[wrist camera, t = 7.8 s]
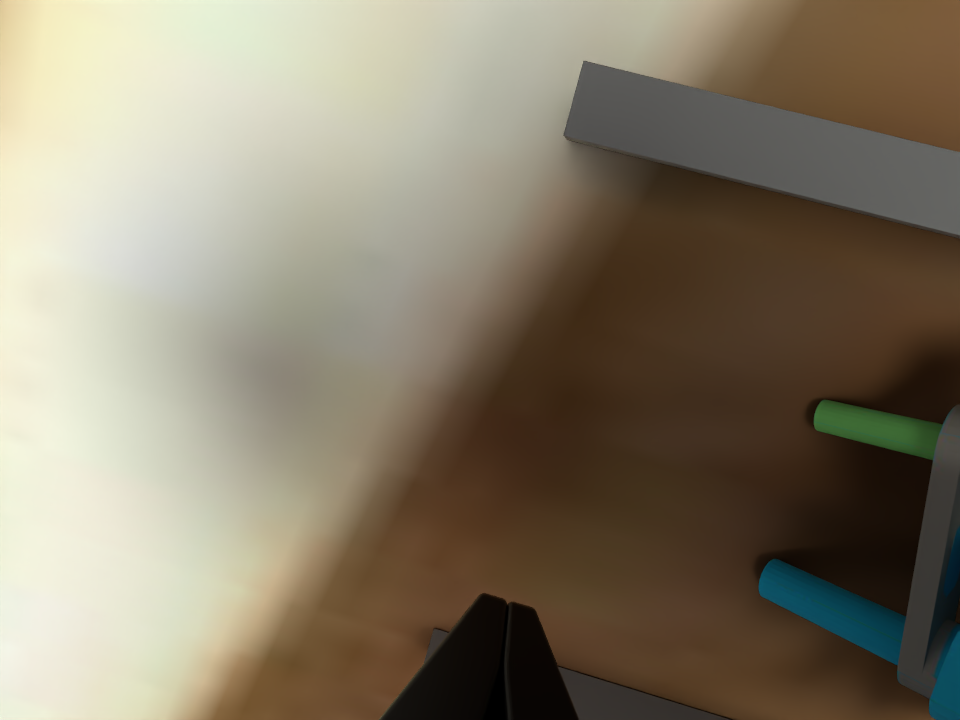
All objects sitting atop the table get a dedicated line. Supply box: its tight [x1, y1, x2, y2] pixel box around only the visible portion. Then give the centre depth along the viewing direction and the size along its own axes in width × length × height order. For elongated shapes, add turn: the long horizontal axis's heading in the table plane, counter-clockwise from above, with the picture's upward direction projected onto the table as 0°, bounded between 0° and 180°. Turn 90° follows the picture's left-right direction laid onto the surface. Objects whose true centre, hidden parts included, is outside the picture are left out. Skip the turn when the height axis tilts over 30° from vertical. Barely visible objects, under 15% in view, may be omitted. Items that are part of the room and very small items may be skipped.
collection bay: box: [424, 61, 960, 720], centre depth 12 cm, size 16×20×4 cm
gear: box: [759, 400, 960, 720], centre depth 12 cm, size 11×6×10 cm
